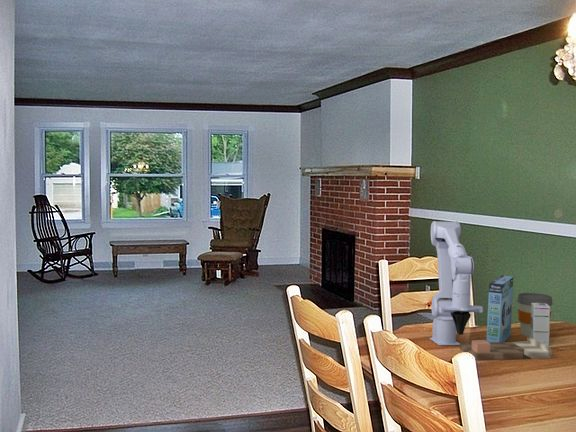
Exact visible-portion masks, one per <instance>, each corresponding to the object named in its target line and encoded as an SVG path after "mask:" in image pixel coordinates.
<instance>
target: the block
mask: <svg viewBox="0 0 576 432" xmlns="http://www.w3.org/2000/svg"><path fill="white" fill-rule="evenodd" d="M471 343H472V348H471V349H472V350H474V351H475V352H477V353H490V343H489V342H487V341H486V340H485V339H476V340H473V339H472V340H471Z"/></svg>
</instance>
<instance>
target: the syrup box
mask: <svg viewBox="0 0 576 432" xmlns="http://www.w3.org/2000/svg"><path fill="white" fill-rule="evenodd" d="M550 311H551V310H550V306H549V305H548V304H546V303H531V331H530V338H532V339H534V340H536V341H538V342H540V343H542V344H544V345H546V346H548V347H550V330H551V329H550V326H551V325H550V323H551V317H550Z"/></svg>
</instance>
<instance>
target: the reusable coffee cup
mask: <svg viewBox="0 0 576 432" xmlns="http://www.w3.org/2000/svg"><path fill="white" fill-rule="evenodd" d="M516 301H517V303H518V308H517V315H518V321H519V324H520V334H521V335H522V336H524V337H525V336H526V337H530V331H531V303H546V304H548V305H549V306H550V318H551V317H552V316H551V315H552V310H551V308H552V306H553V296H551V295H548V294H544V293H536V292H523V293H518V295H517V300H516Z"/></svg>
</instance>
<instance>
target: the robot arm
mask: <svg viewBox="0 0 576 432" xmlns="http://www.w3.org/2000/svg"><path fill="white" fill-rule="evenodd" d="M461 232H462V228H461V223H460V222H459V221H436V220H434V221H432V222H431V224H430V240H431V241H430V242H431V245H432V246H434V247H435V249H436V254H437V272H438V273H437V274H438V276H437V277H438V288H439V289H438V290H439V291H438V292H436V293H435V294H433V296H432V298H431V314H432V317H433V318H434V319H433V320H432V332H431V333H432V336H431V337H429V339H430V340H431V341H432V342H433V343H435V344H436V345H438V346H460V343H461V342H458V341H457V335H461V336H463V335H464V333H465V328H466V326H467V323H468V322H469V320H470V318H472V314H471V313H480V314H481V313H483V312H484V311H483V310H484V307H483V306H482V305H471V283H472V281H471V280H472V279H471V278H472V275H473V273H474V271H475V269H474V267H475V262H474V259H473V257H472V256H470V255H468V253H467V251H466V248H465V246H464V245H463V244H462V243H460V240H459V239H460V237H461Z"/></svg>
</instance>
